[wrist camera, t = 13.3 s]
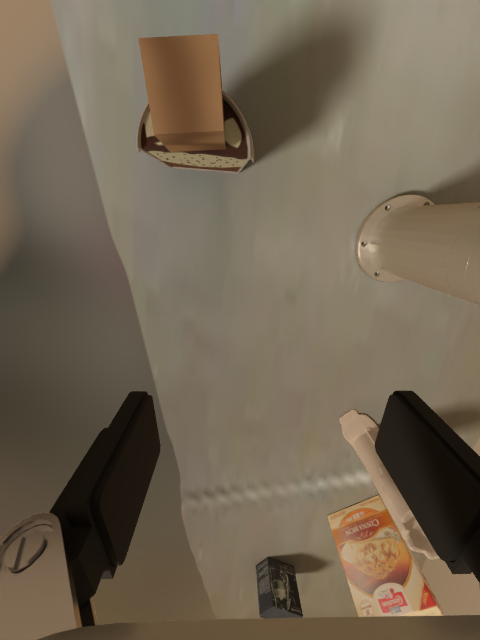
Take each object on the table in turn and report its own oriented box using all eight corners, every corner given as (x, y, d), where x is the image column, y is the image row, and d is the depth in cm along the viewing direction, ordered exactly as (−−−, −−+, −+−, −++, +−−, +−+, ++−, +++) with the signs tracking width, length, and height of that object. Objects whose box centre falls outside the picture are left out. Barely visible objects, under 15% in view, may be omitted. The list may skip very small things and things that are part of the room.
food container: (253, 119, 31) (261, 78, 22) (249, 174, 34) (255, 157, 24) (156, 110, 31) (123, 63, 21) (159, 166, 33) (130, 147, 24)
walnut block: (221, 76, 22) (217, 34, 17) (225, 149, 24) (223, 130, 19) (160, 80, 22) (138, 38, 17) (170, 152, 24) (153, 134, 19)
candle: (359, 404, 50) (433, 512, 32) (389, 440, 54) (469, 554, 36) (330, 421, 52) (383, 533, 33) (361, 455, 56) (424, 571, 38)
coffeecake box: (378, 493, 62) (438, 606, 44) (388, 507, 64) (449, 620, 46) (325, 515, 65) (361, 629, 47) (337, 527, 67) (375, 640, 49)
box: (294, 565, 74) (304, 617, 65) (281, 575, 76) (288, 626, 67) (268, 555, 72) (273, 608, 62) (254, 565, 74) (257, 617, 64)
